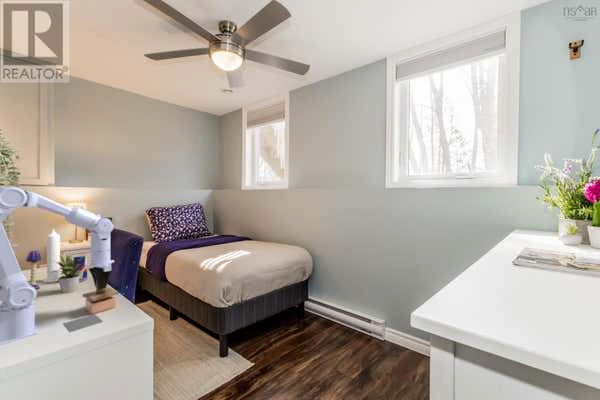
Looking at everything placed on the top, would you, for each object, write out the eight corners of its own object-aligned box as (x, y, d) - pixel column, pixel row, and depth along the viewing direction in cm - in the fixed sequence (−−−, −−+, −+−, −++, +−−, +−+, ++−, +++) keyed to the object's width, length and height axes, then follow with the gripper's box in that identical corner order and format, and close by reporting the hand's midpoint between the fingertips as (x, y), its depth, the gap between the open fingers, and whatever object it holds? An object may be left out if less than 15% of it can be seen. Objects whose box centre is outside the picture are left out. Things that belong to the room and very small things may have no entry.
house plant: (34, 295, 108) (33, 255, 108) (70, 284, 121) (70, 249, 121) (60, 298, 105) (60, 258, 104) (94, 287, 118) (94, 251, 118)
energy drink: (79, 282, 124) (79, 257, 124) (70, 281, 125) (69, 256, 125) (90, 278, 129) (90, 254, 129) (81, 278, 130) (81, 254, 130)
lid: (93, 301, 90) (92, 284, 90) (82, 296, 94) (82, 280, 94) (118, 293, 97) (118, 278, 97) (107, 289, 101) (107, 274, 101)
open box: (91, 315, 91) (91, 304, 91) (85, 310, 95) (85, 299, 95) (115, 308, 96) (115, 298, 96) (108, 303, 101) (108, 293, 101)
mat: (69, 333, 79) (69, 332, 79) (62, 324, 84) (62, 323, 84) (103, 322, 86) (103, 321, 86) (94, 315, 91) (94, 314, 91)
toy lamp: (40, 286, 118) (40, 249, 117) (42, 289, 115) (42, 251, 114) (25, 289, 114) (25, 251, 114) (26, 292, 111) (26, 253, 111)
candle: (47, 279, 128) (47, 228, 127) (65, 277, 131) (65, 227, 130) (40, 283, 121) (40, 230, 121) (60, 281, 124) (60, 229, 124)
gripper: (121, 251, 94) (121, 288, 94) (106, 246, 103) (106, 280, 103) (97, 254, 89) (97, 294, 89) (84, 249, 97) (84, 285, 97)
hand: (100, 287), depth 96 cm, fingers closed on lid, 3 cm apart
